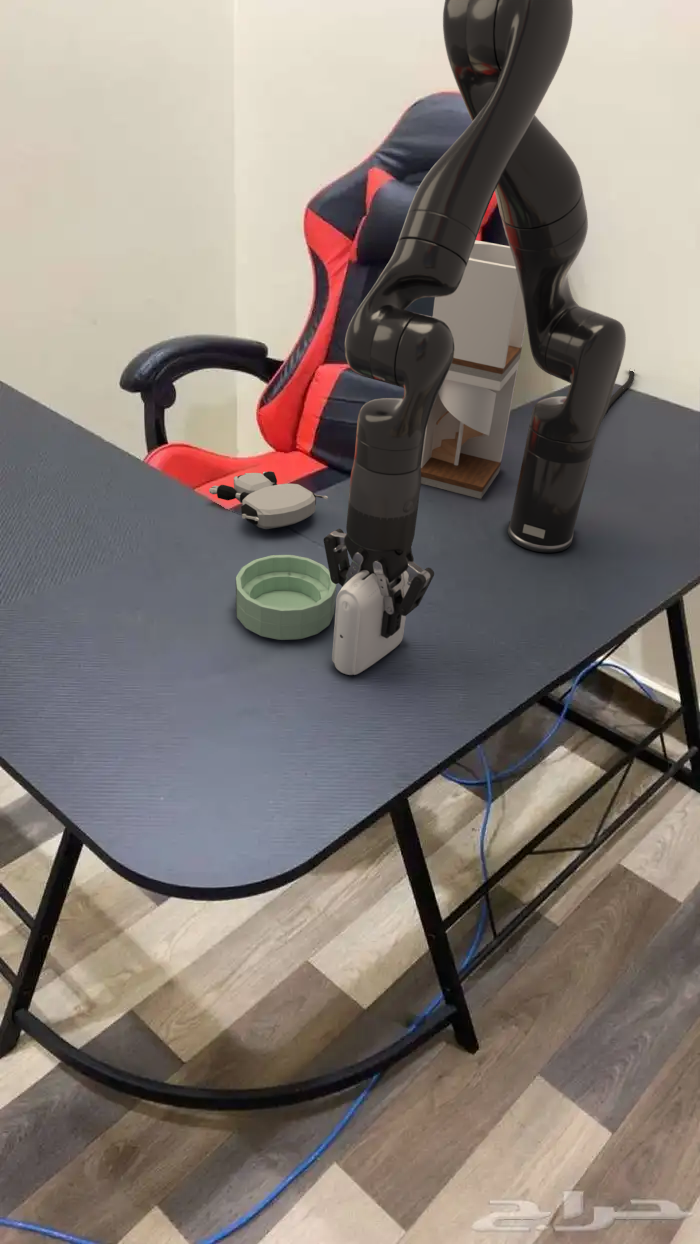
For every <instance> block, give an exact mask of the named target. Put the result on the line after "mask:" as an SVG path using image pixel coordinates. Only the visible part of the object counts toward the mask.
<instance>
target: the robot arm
mask: <svg viewBox="0 0 700 1244" xmlns="http://www.w3.org/2000/svg"><path fill="white" fill-rule="evenodd" d="M443 4H444V5H443V11H442V34H443V42H444V47H445V52H446V56H447V61H448V63H449V67H450V70H451V72H452V75H453V78H454V80H455V83H456V86H457V89H458V91H459V93H460V96H461V98H462V101H463V104H464V106H465V108H466V110H467V114H468V116H469V119H470V120H471V123H470V124H469V125H468V127H466V129H465V130H464V131H463V133H461V135H460V136H459V137H458V138H457V139H456V140H455V141H454V142H453V144H452V145H451V146H450V147H449V148H447V150H446V151H445V152H444V153H443V155H442V156H441V157H440V158H439V159H438V160H437V161H436V162H435V163H434V165H433V166H432V167H431V168H430V170H428V172H427V173H426V175H425V176H424V177H423V179H422V181H421V183H420V184H419V186H418V188H417V190H416V192H415V193H414V196H413V199H412V201H411V202H410V206H409V208H408V210H407V214H406V217H405V219H404V223H403V225H402V229H401V231H400V234H399V236H398V240H397V243H396V246H395V249H394V251H393V253H392V255H391V257H390V259H389V261H388V263H387V264H386V266H385V267H384V269H383V270H382V272H381V273H380V275H379V276H378V278H377V280H376V281H375V283H374V284H373V286H372V287H371V289H370V290H369V292H368V293H367V295H366V296H365V297H364V299H363V300H362V302H361V303H360V305H359V306H358V307H357V309H356V311H355V313H354V314H353V316H352V318H351V320H350V321H349V324H348V327H347V330H346V333H345V336H344V337H345V338H344V354H345V359H346V362H347V364H348V366H349V368H350V369H351V370H352V371H353V372H354V373H355V374H357V375H358V376H361V377H364V378H367V379H370V380H374V381H378V382H382V383H386V384H389V385H393V386H396V387H399V388H403V397H381V398H375V399H372V400H369V401H367V402H365V403H364V404H363V405H362V406H361V408H360V410H359V412H358V416H357V423H356V432H355V433H356V434H355V446H354V457H353V463H352V467H351V472H350V479H349V489H348V490H349V491H348V501H347V503H348V504H347V513H346V527H345V528H346V529H345V531H346V533H345V532H344V530H343V529H341V528H337V529H335V530H334V531H332V532H330V533H329V534H327V535H326V536H324V537H323V545H324V550H325V555H326V562H327V566H328V570H329V573H330V578H331V581H332V582H333V583H334V584H336V585H338V584H339V585H340V586H341V588H342V587H343V586H344V585H345V584H346V583H347V582H348V581H349V580H350V579H351V578H352V577H353V576H355V575H356V574H358V573H359V572H360V571H362V570H367V571H369V574H370V575H371V574H375V575H376V577H377V583H378V586H379V589H380V593H381V595H382V596H383V597H384V598H383V600H384V606H385V611H384V612H383V621H382V630H381V636H383V637H385V638H388V637H390V636H392V635H393V634H394V633H396V632H397V631H398V630H399V629H400V623H401V616H402V615H403V616H406V617H407V615H409V614H410V613H411V612H412V611H414V610H415V609H416V608H418V607H419V606H420V604H421V602H422V600H423V598H424V596H425V594H426V592H427V590H428V589H429V586H430V585H431V582H432V581H433V578H434V576H435V571H434V569H432V568H431V567H426V568H422V567H421V566H420V565H418V564H417V563H416V562H414V555H413V553H412V547H413V542H414V538H415V533H416V526H417V519H418V511H419V502H420V497H421V496H420V495H421V488H422V487H421V486H422V484H421V461H422V454H423V446H424V438H425V431H426V427H427V423H428V420H429V417H430V414H431V411H432V408H433V406H434V403H435V400H436V398H437V395H438V393H439V391H440V389H441V386H442V384H443V382H444V380H445V378H446V376H447V374H448V371H449V369H450V367H451V364H452V361H453V358H454V351H455V345H454V338H453V335H452V332H451V330H450V328H449V327H448V325H447V324H446V323H445V322H443V321H442V320H440V319H438V318H435V317H433V316H431V315H427V314H422V313H418V312H415V311H410V310H407V309H408V307H410V305H412V303H414V302H415V301H417V300H420V299H425V298H435V297H443V296H448V295H451V294H453V293H454V292H455V291H456V290H457V288H458V287H459V285H460V282H461V280H462V277H463V275H464V272H465V269H466V266H467V263H468V261H469V258H470V255H471V252H472V249H473V246H474V244H475V240H477V238H478V234H479V232H480V229H481V226H482V223H483V220H484V219H485V216H486V213H487V211H488V208H489V205H490V203H491V200H492V199H493V196H494V194H495V198H496V202H497V207H498V212H499V215H500V219H501V222H502V227H503V230H504V234H505V238H506V240H507V244H508V246H510V249H511V252H512V256H513V259H514V263H515V267H516V271H517V276H518V280H519V284H520V288H521V292H522V296H523V302H524V308H525V315H526V329H527V335H528V343H529V347H530V348H529V349H530V352H531V356H532V359H533V360H534V362H535V364H536V366H537V367H538V368H539V369H540V370H542V371H543V372H545V373H546V374H548V375H550V376H553V377H555V378H558V379H560V380H562V381H564V382H567V383H569V384H570V385H569V388H568V392H567V395H566V396H565V395H564V396H561V395H559V396H551V397H546V398H543V399H540V400H539V401H537V402H536V403H535V404H534V405H533V407H532V411H531V414H530V420H529V425H528V430H527V435H526V440H525V444H524V449H523V450H524V451H523V456H522V461H521V465H520V471H519V476H518V481H517V487H516V491H515V497H514V502H513V506H512V511H511V517H510V521H509V524H508V528H507V534H508V537H509V538H510V539H511V541H512V542H514V543H515V544H517V545H518V546H520V547H522V548H524V549H527V550H530V551H533V552H538V553H559V552H562V551H565V550H566V549H568V548H570V546H571V545H572V543H573V538H574V531H575V527H576V523H577V519H578V515H579V511H580V507H581V503H582V498H583V495H584V492H585V491H584V490H585V486H586V482H587V477H588V474H589V469H590V466H591V461H592V457H593V452H594V448H595V444H596V440H597V436H598V433H599V429H600V426H601V424H602V421H603V419H604V417H605V415H606V413H607V412H608V410H609V409H610V407H611V406H612V405H613V404H614V402H616V400H617V399H618V398H619V397H620V396H621V395H622V394H623V393H624V392H625V391H626V390H627V389H628V388H629V387H630V386H631V385H632V383H633V381H634V378H635V373H634V372H633V371H630V369H629V370H628V374H629V375H628V378H627V380H626V382H625V383H623V384H622V385H621V386H620V387H621V388H620V387H619V388H618V389H617V390H616V391H615V393H614V394H613V391H614V388H615V386H616V385H615V384H616V382H617V378H618V376H619V372H620V368H621V365H622V362H623V359H624V355H625V350H626V342H627V337H626V329H625V327H624V324H623V323H621V322H620V321H619V320H617V319H616V318H613V317H610V316H607V315H605V314H603V313H600V312H597V311H595V310H592V309H589V308H586V307H584V306H581V305H579V304H578V303H577V302H576V301H575V299H574V297H573V294H572V290H571V287H570V282H569V272H570V270H571V268H572V267H573V265H574V263H575V262H576V260H577V258H578V257H579V254H580V252H581V251H582V248H583V246H584V245H585V242H586V238H587V235H588V229H589V220H588V219H589V218H588V212H587V206H586V200H585V195H584V190H583V184H582V180H581V176H580V174H579V171H578V168H577V166H576V164H575V162H574V160H573V159H572V158H571V156H570V155H569V154H568V152H567V151H566V149H565V148H564V147H563V145H562V144H561V143H560V142H559V141H558V140H557V138H556V137H555V136H554V135H553V134H552V132H551V131H549V129H548V128H547V127H546V125H544V124H543V123H542V122H541V120H540V119H539V118H538V117H537V115H536V113H537V111H538V109H539V107H540V105H541V103H542V102H543V100H544V98H545V96H546V94H547V92H548V90H549V89H550V86H551V84H552V82H553V81H554V79H555V76H556V74H557V72H558V71H559V68H560V66H561V63H562V62H563V59H564V56H565V54H566V51H567V48H568V44H569V41H570V37H571V32H572V26H573V16H574V8H573V7H574V5H573V0H445V1H444V3H443ZM623 388H624V389H623ZM349 558H350V559H351V563H350V559H349ZM405 571H407V573H408V575H409V577H408V582H407V584H408V585H409V586H410V587H409V589H408V591H407V593H406V595H405V596H404V590H403V588H404V585H405V579H404V573H403V572H405ZM370 575H369V576H370ZM393 580H395V581H394V582H393V583H392V584H390V585H389V583H390V582H392V581H393Z"/></svg>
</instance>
